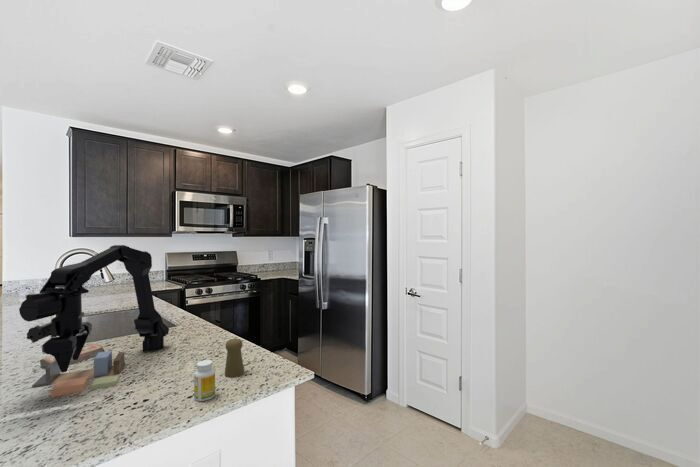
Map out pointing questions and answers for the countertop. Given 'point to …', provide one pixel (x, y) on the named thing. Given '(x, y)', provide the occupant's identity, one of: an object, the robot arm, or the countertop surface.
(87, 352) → the packaged product
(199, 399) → the supplement bottle
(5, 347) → the countertop surface
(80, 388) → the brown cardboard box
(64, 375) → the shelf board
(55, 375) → the bookend
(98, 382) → the olive book
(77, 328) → the robot arm
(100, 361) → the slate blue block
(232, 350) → the cork
